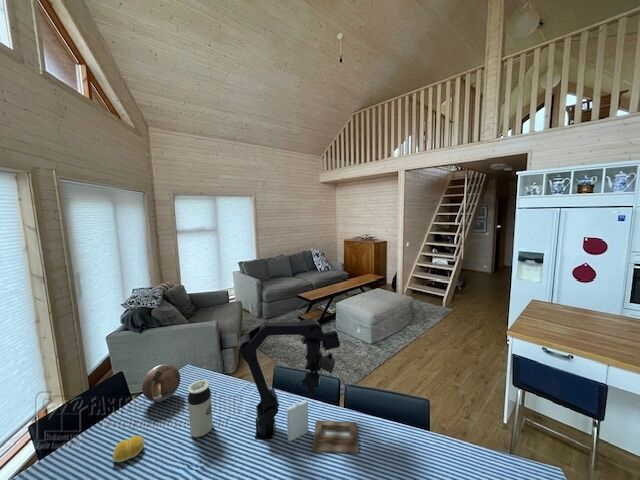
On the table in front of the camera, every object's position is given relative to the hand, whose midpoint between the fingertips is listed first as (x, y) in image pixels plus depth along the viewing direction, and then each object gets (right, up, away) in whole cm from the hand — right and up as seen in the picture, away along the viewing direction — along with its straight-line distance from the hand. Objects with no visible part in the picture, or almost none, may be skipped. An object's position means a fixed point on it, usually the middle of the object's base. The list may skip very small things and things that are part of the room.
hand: (314, 388), depth 105 cm
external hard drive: (-6, -14, -7) cm, 17 cm away
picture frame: (+8, -14, -8) cm, 18 cm away
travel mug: (-44, -14, -3) cm, 46 cm away
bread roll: (-64, -16, -9) cm, 67 cm away
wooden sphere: (-70, -13, +15) cm, 73 cm away
